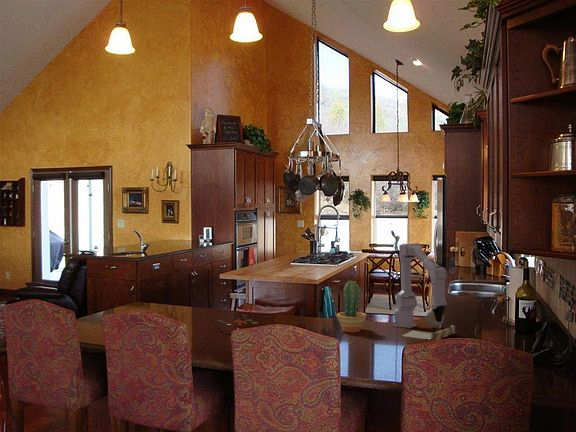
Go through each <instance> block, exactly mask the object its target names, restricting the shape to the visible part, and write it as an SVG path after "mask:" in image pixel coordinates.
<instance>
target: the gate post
mask: <svg viewBox="0 0 576 432" xmlns="http://www.w3.org/2000/svg"><path fill="white" fill-rule="evenodd" d="M450 327H453V334H456V326H455V325H453V324H452V325H450Z"/></svg>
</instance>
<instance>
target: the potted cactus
mask: <svg viewBox="0 0 576 432" xmlns="http://www.w3.org/2000/svg"><path fill="white" fill-rule="evenodd" d="M361 291H362V290H361V287H360V286H359V284H358V283H357V281H356V280H355V281H353V280H348V281H347V282H346V283H345V285H344V287H343V297H344V311H342V312H338V313H337V314H336V318H337V319H338V322H339V324H340V326H341V327H342V331H343V332H347V333H357V332H360V331H361V328H362V326H363V324H364V322H365V320H366V318H367V314H366V313H364V312H360V311H359V312H358V306H359V302H360V299H361V293H362V292H361Z"/></svg>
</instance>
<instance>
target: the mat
mask: <svg viewBox="0 0 576 432" xmlns="http://www.w3.org/2000/svg"><path fill="white" fill-rule="evenodd" d="M431 333H433V332H430V331H421V330H410V331H409V332H406V333H404V334H403V335H401V337H404V338H412V339H420V340H425V339H428V340H427V341H431V340H430V339H431Z"/></svg>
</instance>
